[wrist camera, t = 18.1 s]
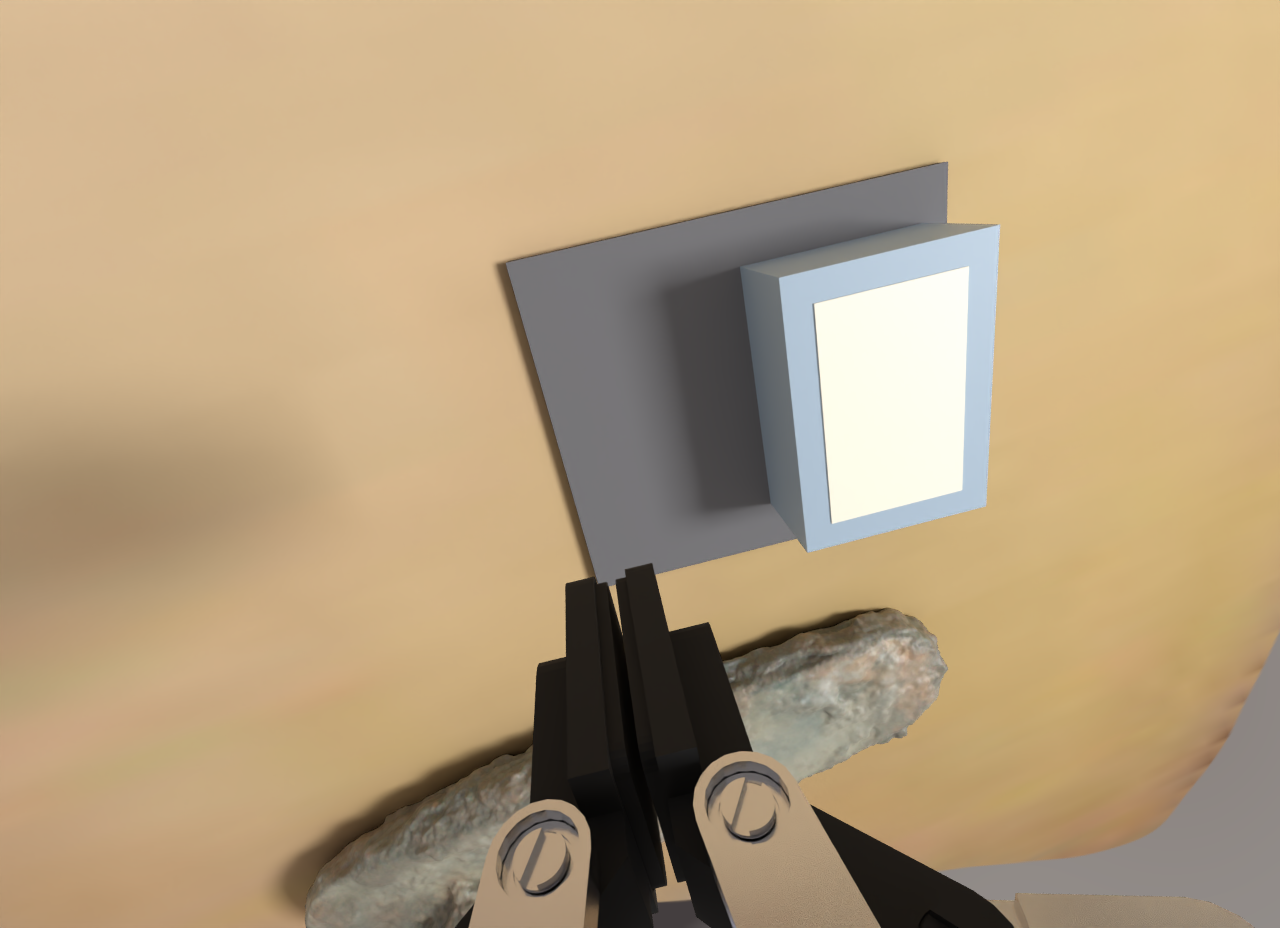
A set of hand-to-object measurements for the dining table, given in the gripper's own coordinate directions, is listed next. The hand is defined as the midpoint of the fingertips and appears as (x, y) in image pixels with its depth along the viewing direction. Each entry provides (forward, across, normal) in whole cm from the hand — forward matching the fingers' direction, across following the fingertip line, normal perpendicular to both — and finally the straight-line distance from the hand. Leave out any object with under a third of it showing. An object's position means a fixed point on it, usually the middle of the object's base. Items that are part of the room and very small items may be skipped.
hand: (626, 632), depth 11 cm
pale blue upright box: (+11, -6, +1) cm, 12 cm away
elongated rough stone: (+13, +3, +20) cm, 24 cm away
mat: (+13, -6, +1) cm, 14 cm away
